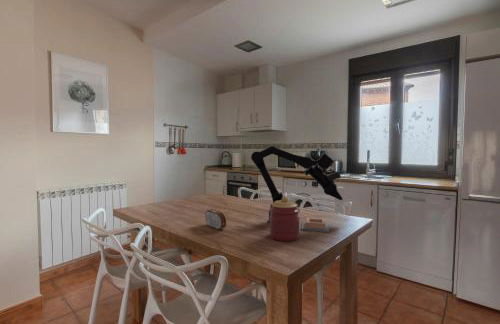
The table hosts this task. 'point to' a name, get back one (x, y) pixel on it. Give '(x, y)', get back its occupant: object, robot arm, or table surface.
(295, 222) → the canister
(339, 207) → the steel square bar
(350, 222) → the table surface
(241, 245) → the table surface
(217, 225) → the tin
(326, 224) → the pocket board
